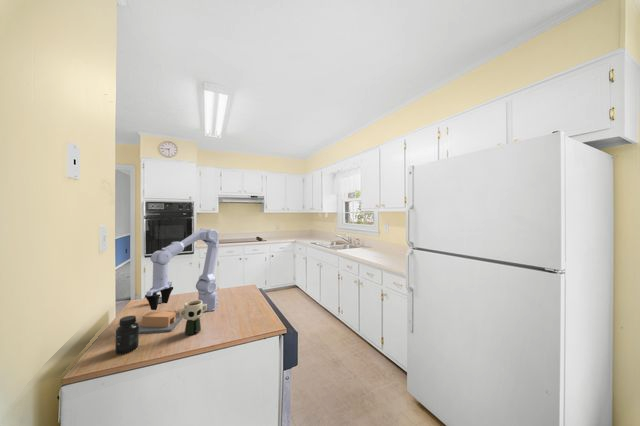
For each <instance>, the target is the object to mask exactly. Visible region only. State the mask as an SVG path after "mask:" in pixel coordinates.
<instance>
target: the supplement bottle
mask: <svg viewBox="0 0 640 426" xmlns="http://www.w3.org/2000/svg"><path fill="white" fill-rule="evenodd" d="M118 325H119V326H117V328H116V329H115V340H114V341H115V342H114V343H115V346H114V347H115V348H114V350H115V354H117V355H126V354H129V352H130V353H132V352H134V351H135V350H137V349H138V348H139V344H140V343H139V340H140V339H139V338H140V337H139V336H140V334H139V326H140V323H138V322H137V317H136V315H127V316H123V317H121V318H120V319H119V324H118ZM136 348H137V349H136ZM133 350H134V351H133ZM131 351H132V352H131ZM125 353H126V354H125Z"/></svg>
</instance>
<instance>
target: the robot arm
mask: <svg viewBox="0 0 640 426" xmlns="http://www.w3.org/2000/svg"><path fill="white" fill-rule="evenodd" d="M219 234H220V233H219V232H218V231H217V230H216V229H214V228H203V227H202V228H200V229H198V230H196V231H195V232H193V233H191V235H189V236H187V237H185V238H184V239H183V240H181V241H178V240H177V241H172V242H171V243H170V244H169V245H167V246H165V247H161V250H156V251H154V252H152V254H151V257H150V258H149V259H150V261H151V262H152V287H151V288H149V290H147V291H146V294H145V295H144V298H145V299H146V301H147V302H148V304H149V307H150V310H151V311H157V309H158V304H159V303H158V300H159V297H162V303H161V304H168V303H169V298H170V296H171V293H172V292H173V290H174V286H173V281H168V280H169V278H168V277H169V276H168V275H169V274H168V273H169V263H170V261H171V259H173V258H174V257H176V256H177V255H179V254H180V253H182V252H183V251H184V249H185V248H186V247H188V246H190V245H192V244H193V243H195V242H197V241H202V242H204V243H205V244H206V245H207V251H206V255H205V259H204V265H203V270H202V273H201V274H200V276H199V277H198V280H197V282H196V284H195V289H196V290H197V293H198V296H197V297H198V299H197V300H201V301H202V303H203V304H207V310H206V311H205V312H211V311H215V310H216V308H217V307H218V296H219V294H218V291H215V290H216V288H217V283H216V281H217V278H216V277H215V276H214V274H215V273H214V272H215V267H216V262H217V256H218V251H219V247H220V246H219V245H220V241H219V237H220V236H219ZM159 291H160V292H159ZM157 292H158V293H160V294H158V293H157ZM156 293H157V294H156ZM202 310H204V307H202Z"/></svg>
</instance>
